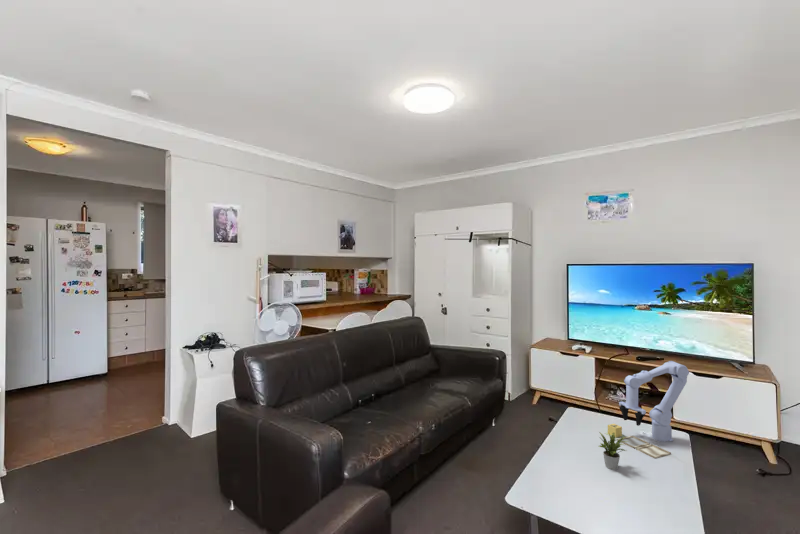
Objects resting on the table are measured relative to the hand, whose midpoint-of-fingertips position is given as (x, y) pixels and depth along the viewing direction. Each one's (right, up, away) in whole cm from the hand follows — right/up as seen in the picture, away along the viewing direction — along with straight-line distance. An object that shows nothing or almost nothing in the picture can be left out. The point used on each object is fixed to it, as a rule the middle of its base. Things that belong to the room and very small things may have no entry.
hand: (631, 422), depth 215 cm
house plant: (-27, -10, -30) cm, 41 cm away
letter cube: (-7, -9, +4) cm, 12 cm away
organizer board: (-2, -10, -6) cm, 11 cm away
